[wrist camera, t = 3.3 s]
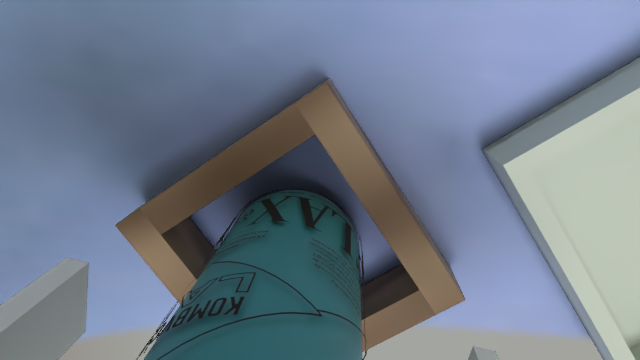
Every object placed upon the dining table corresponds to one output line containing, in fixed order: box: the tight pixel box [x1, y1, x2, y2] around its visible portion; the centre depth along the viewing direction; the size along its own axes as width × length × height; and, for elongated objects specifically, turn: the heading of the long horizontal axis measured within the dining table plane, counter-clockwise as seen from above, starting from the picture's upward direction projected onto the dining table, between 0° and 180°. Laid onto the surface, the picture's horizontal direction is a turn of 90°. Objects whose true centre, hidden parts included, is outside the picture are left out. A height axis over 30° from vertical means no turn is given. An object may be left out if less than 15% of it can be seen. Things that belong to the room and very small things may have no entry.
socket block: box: [115, 79, 465, 352], centre depth 21 cm, size 12×12×3 cm
